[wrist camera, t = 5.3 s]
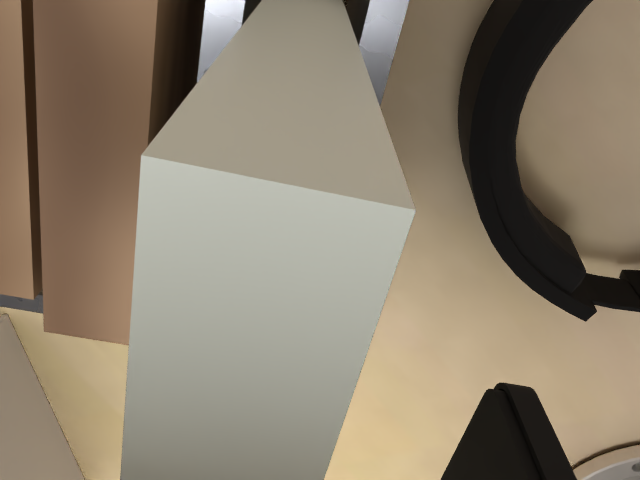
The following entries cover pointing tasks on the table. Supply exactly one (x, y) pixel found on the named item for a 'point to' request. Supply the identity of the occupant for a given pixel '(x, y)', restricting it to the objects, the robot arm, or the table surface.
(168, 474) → the pale grey panel
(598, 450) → the table surface
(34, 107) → the offcut short
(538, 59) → the headphones
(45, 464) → the brochure
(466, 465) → the robot arm
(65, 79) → the offcut tall
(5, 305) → the rack
